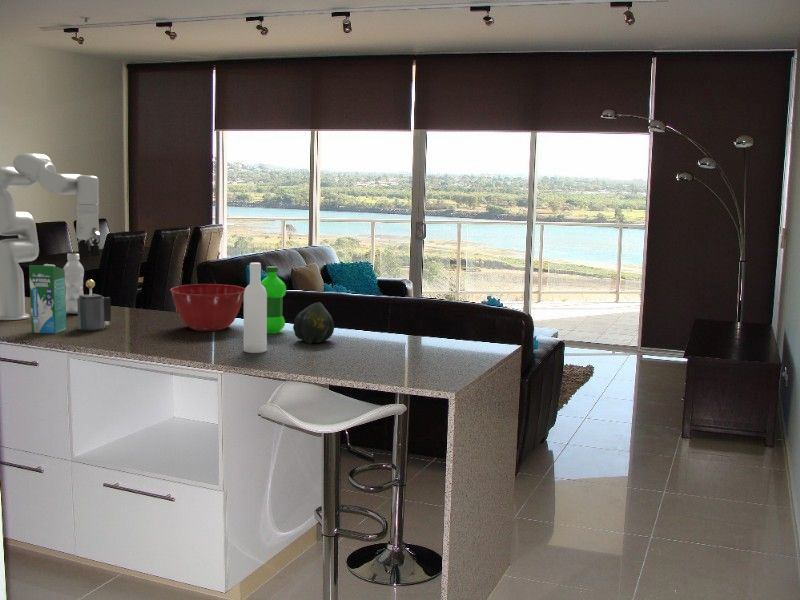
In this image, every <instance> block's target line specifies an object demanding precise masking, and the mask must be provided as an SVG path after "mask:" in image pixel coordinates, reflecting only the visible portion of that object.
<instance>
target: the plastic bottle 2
mask: <svg viewBox="0 0 800 600" xmlns="http://www.w3.org/2000/svg"><path fill="white" fill-rule="evenodd" d="M266 272H267V276H266V277H265V278H263V280H261V284H262V285H263V286H264V287H265V290H266V293H267V334H273V335H274V334H278V333H280V332H281V331H282V330H283V329H284V328H285V325H286V319H285V317H284V316H283V314H284V313H283V310H284V309H283V304H284V300H283V297H285V295H286V293H287V286H286V283H285V282H284V281H283V280H282V279H281V278H280V277H278V276H277V273H278V272H279V267H278V266H275V265H274V266H272V265H271V266H266Z"/></svg>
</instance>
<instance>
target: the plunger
mask: <svg viewBox="0 0 800 600" xmlns="http://www.w3.org/2000/svg"><path fill="white" fill-rule="evenodd" d="M85 286H86V287H87V288H88V290H89V292H88V293H89V296H92V294H93V288H94V287H95V286H96V282H95V281H94V280H93V279H88V280H86V282H85Z"/></svg>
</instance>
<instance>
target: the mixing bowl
mask: <svg viewBox="0 0 800 600" xmlns="http://www.w3.org/2000/svg"><path fill="white" fill-rule="evenodd" d="M245 289H246V287H242V286H239V285H232V284H231V285H230V284H219V283H215V284H214V283H197V284H194V283H193V284H183V285H177V286H174V287H172V288H170V289H169V291H170V292H171V296H172V298H173V299H172V300H173V303H174V306H175V309H176V311H177V313H178V315H179V317H180V319H181V321H182V322H183V323H184V325H185V326H187V327H188V328H190V329H192V330H194V331H200V332H214V331H215V332H216V331H223V330H225V329H226V328H228V327H229V326H231V325H232V324H233V323H234V321H235V319H237V318H236V317H237V316H238V313H239V312H240V309H241V308H242V304H243V302H244V291H245Z"/></svg>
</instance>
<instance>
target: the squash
mask: <svg viewBox="0 0 800 600" xmlns="http://www.w3.org/2000/svg"><path fill="white" fill-rule="evenodd" d="M292 326H293V327H292V330H293V331H294V335H295V337H296V338H297V339H299V340H302V341H305V343H307V344H309V345H311V344H312V343H315V344H319V343H321V342H324V341H328V340H329V339H330V338H331V337H332V336H333V334H334V331H335V323H334V320H333V317H332V315H331V314H330V312H329V311H328V310H327V309H326V307H325V306H324V304H323V303H322V302H320V301H319V302H314V303H312V304H310V305H308V306H307V307H305V308H304V309H302V310H301V311H300V312H298V314H297V315H296V317H295V319H294V321H293V325H292Z"/></svg>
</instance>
